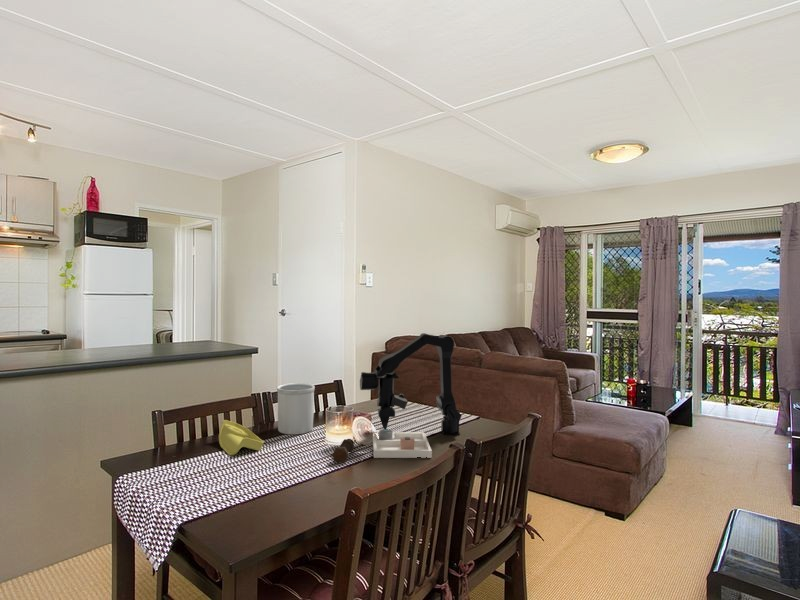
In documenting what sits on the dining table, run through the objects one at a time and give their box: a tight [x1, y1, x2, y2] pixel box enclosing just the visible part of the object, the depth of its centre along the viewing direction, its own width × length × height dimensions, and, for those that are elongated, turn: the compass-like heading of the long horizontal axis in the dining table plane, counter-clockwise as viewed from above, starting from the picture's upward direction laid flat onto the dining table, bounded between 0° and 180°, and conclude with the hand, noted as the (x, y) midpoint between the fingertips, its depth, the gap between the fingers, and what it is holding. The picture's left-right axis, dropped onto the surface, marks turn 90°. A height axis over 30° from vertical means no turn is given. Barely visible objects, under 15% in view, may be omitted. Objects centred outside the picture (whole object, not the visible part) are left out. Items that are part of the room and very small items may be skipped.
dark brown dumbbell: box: [331, 438, 355, 464], centre depth 161 cm, size 6×5×15 cm
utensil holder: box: [276, 382, 316, 435], centre depth 187 cm, size 15×15×18 cm
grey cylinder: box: [379, 428, 394, 440], centre depth 174 cm, size 5×5×5 cm
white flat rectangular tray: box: [372, 429, 433, 459], centre depth 174 cm, size 20×29×2 cm
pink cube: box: [400, 437, 415, 450], centre depth 166 cm, size 5×5×5 cm
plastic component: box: [218, 419, 265, 456], centre depth 167 cm, size 20×7×10 cm
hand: (385, 428), depth 183 cm, fingers closed
